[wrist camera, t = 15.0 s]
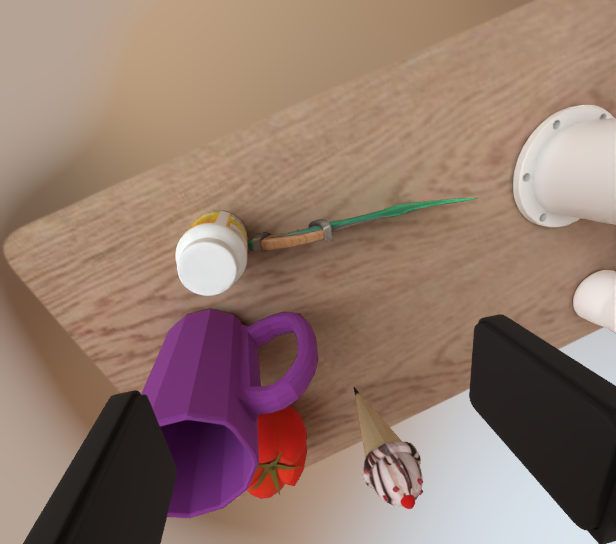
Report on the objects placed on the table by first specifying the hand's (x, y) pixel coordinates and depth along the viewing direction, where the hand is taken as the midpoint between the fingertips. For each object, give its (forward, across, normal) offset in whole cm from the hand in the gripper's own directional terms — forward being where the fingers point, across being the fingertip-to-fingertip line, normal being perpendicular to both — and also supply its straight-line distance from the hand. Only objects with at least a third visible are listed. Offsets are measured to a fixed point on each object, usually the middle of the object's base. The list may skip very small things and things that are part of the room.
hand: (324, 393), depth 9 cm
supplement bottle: (+24, +6, 0) cm, 25 cm away
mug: (+24, +6, +11) cm, 27 cm away
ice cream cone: (+24, -6, +22) cm, 34 cm away
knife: (+24, -8, 0) cm, 26 cm away
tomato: (+24, +5, +24) cm, 34 cm away
